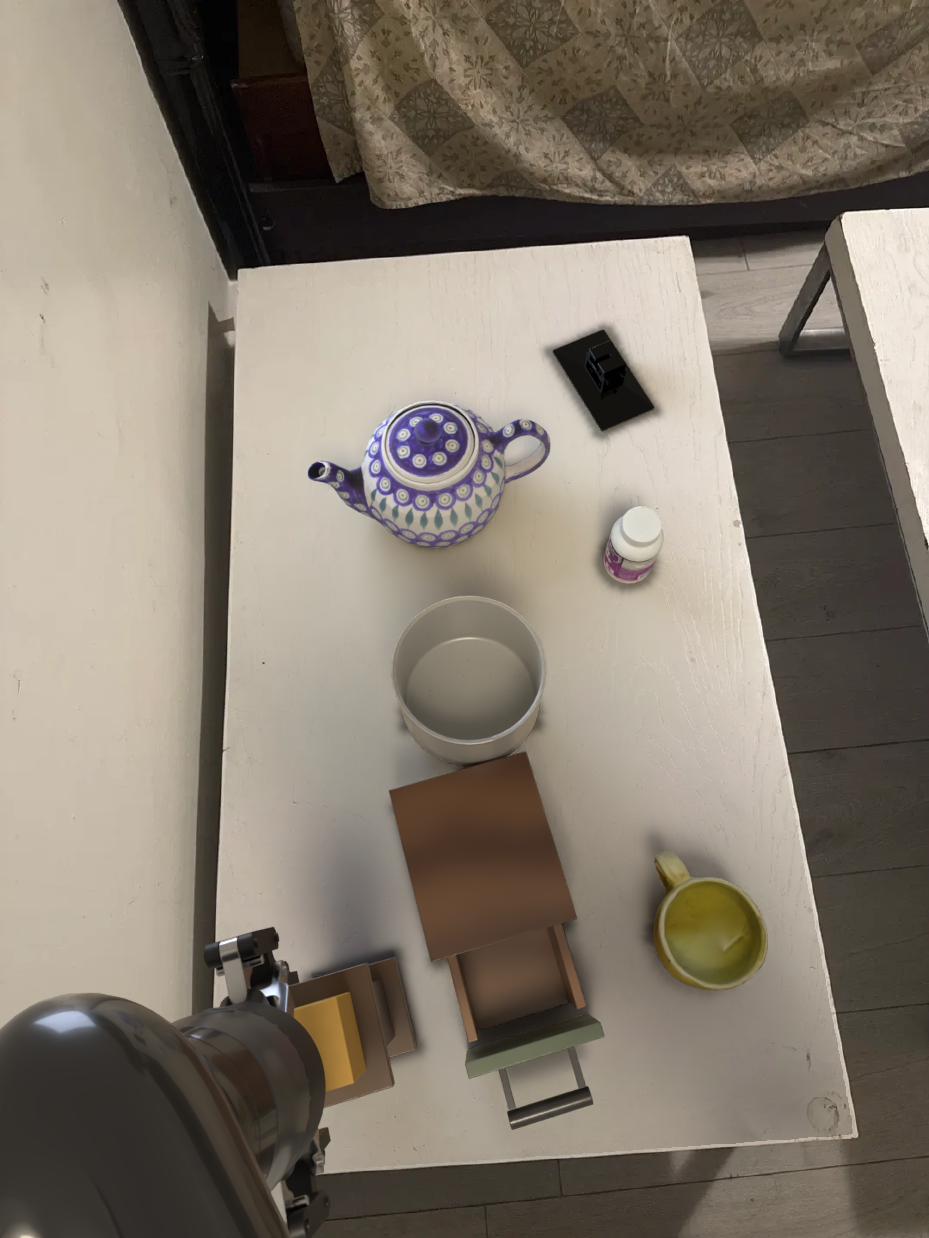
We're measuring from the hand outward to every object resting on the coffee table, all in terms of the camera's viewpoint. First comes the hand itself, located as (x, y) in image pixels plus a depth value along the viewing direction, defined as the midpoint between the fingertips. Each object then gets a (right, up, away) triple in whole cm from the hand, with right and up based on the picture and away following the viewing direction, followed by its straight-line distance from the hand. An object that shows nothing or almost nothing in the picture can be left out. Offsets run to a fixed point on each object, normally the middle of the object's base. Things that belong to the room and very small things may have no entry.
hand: (296, 1058), depth 51 cm
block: (0, -3, +8) cm, 9 cm away
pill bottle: (+27, +32, +44) cm, 61 cm away
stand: (+1, -11, +29) cm, 31 cm away
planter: (+10, +15, +39) cm, 43 cm away
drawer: (+15, -9, +29) cm, 33 cm away
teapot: (+7, +39, +47) cm, 61 cm away
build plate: (+26, +54, +52) cm, 79 cm away
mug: (+31, -3, +32) cm, 44 cm away
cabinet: (+11, +2, +33) cm, 35 cm away
